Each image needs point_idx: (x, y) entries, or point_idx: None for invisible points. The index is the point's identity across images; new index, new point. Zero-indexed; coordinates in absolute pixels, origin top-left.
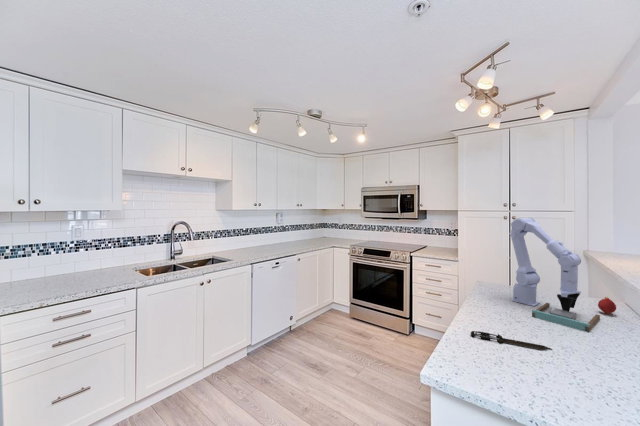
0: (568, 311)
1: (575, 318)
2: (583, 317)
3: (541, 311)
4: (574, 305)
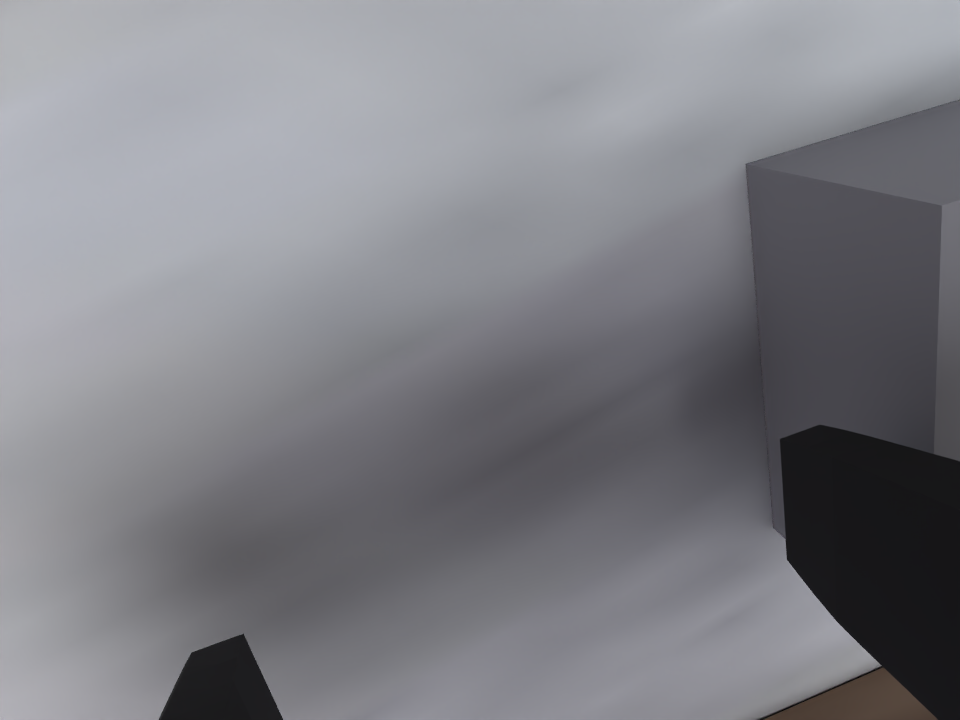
0: (954, 394)
1: (880, 157)
2: (191, 263)
3: (849, 718)
4: (207, 713)
